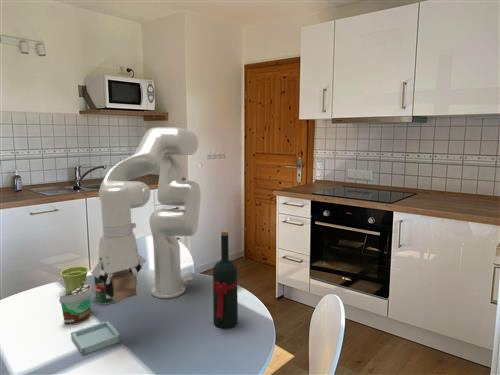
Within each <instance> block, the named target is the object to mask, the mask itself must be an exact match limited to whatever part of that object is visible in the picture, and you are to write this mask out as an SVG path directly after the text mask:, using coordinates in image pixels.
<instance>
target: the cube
mask: <svg viewBox="0 0 500 375" xmlns="http://www.w3.org/2000/svg"><path fill="white" fill-rule="evenodd" d="M136 280H137V276H136V275H135V274H133V273H132V272H130V271H129V270H128V269H127V270H123V271H119V272H116V273H113V275H112V279H111V283H112V284H113V297H111V298H112V299H113V300H115V301H116V302H120V301H122V300H125V299H128V298H132V297H135V296H137V285H136ZM116 302H115V303H116Z"/></svg>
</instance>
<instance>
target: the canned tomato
mask: <svg viewBox="0 0 500 375" xmlns="http://www.w3.org/2000/svg"><path fill="white" fill-rule="evenodd" d="M99 273H100V274H101V275H104V270H100V272H99ZM94 291H95V302H96V304H98V305H111V304H113V303H116V301H115V300H113V299H112V298H111V297H110V296H108V295H107V294H106V293H105V287H104V282H103V281H101V280H100V279H98V278H97V277H95V276H94Z"/></svg>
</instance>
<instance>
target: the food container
mask: <svg viewBox="0 0 500 375" xmlns="http://www.w3.org/2000/svg"><path fill="white" fill-rule="evenodd" d="M93 293H94V291H93V287H92V285H91V283H89V282H88V281H86V282H84V281H83V284H82V285H81V286H79V287H78V288H75V289H73V290H72V291H70V292H69V293H68V294H67V293H66V294H65V295H59V301H58V303H59V304H61V312H62V316H63V321H64V325H76V323H77V324H79V323H83V322H85V321H87V320H89V318H90V317H91V310H92V308H91V305H92V304H91V299H92V297H91V295H92V294H93Z"/></svg>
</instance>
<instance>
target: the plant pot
mask: <svg viewBox="0 0 500 375" xmlns="http://www.w3.org/2000/svg"><path fill="white" fill-rule="evenodd" d="M88 272H89V268H88V267H86V266H82V265H81V266H79V265H78V266H71V267H67V268H64V269H63V270H61V272H60V275H61V276H62V279H63V282H64V283H63V284H64V287H65V291H66V295H67V294H68V293H69V292H70V291H72V290H73V289H75V288H78V287H79V286H81V285H82V284H83V281H84V282H87V275H88Z"/></svg>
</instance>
